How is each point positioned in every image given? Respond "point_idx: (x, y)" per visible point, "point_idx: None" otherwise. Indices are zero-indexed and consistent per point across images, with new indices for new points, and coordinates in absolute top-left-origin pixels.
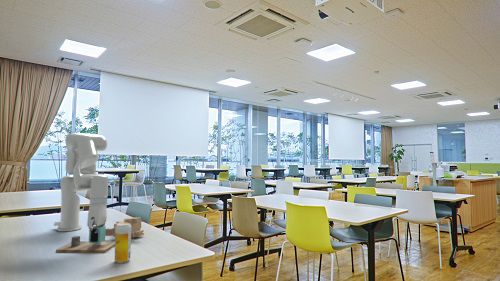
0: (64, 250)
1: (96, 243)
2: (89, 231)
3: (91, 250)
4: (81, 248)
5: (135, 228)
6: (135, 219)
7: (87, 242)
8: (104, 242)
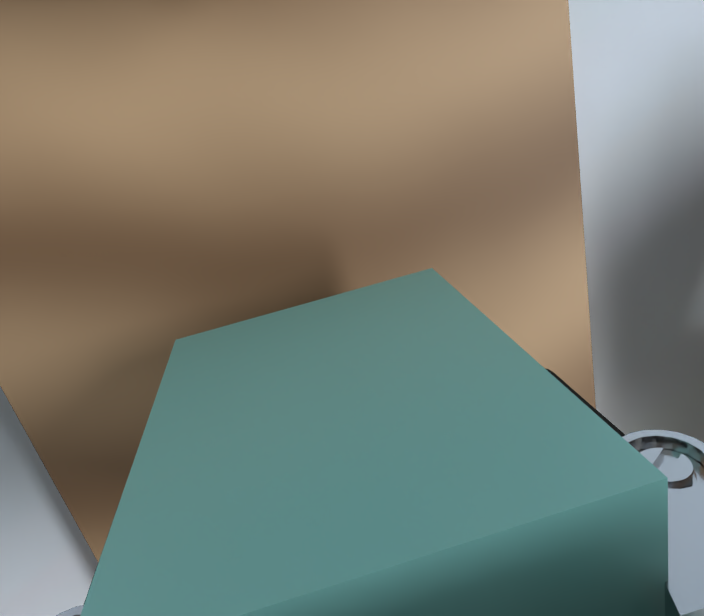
0: None
1: None
2: (107, 553)
3: (58, 481)
4: (38, 251)
5: None
6: None
7: (480, 15)
8: (532, 353)
